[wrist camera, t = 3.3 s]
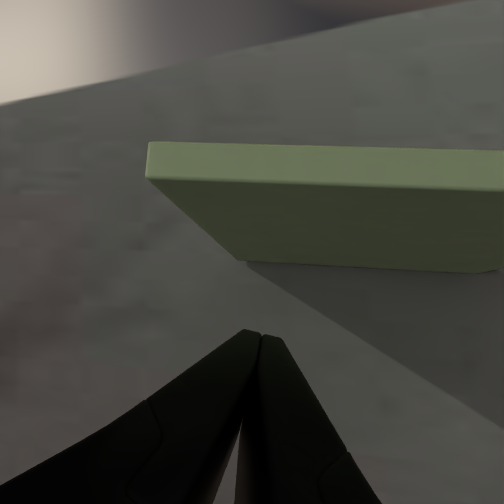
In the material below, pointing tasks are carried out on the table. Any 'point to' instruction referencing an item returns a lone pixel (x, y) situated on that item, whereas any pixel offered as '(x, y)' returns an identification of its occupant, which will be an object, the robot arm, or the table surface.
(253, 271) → the table surface
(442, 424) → the table surface
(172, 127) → the table surface
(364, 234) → the door
